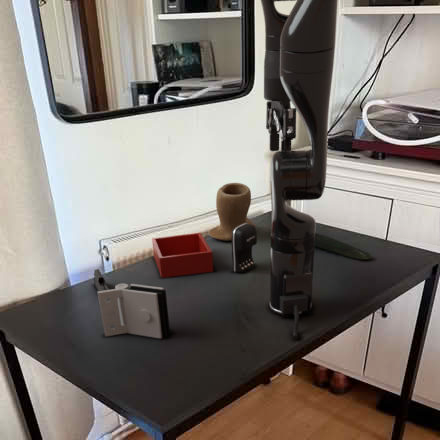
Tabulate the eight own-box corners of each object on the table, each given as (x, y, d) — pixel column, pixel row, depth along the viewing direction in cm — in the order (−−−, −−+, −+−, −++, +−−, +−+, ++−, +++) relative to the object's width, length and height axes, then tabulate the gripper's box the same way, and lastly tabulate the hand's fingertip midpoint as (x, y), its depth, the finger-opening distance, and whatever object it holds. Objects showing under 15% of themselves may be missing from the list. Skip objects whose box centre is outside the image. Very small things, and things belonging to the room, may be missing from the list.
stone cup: (232, 247, 161) (231, 193, 152) (203, 238, 168) (200, 186, 159) (266, 233, 169) (267, 181, 161) (237, 225, 176) (236, 175, 168)
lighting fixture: (122, 313, 129) (119, 296, 126) (110, 315, 128) (108, 298, 125) (105, 283, 143) (102, 267, 141) (94, 285, 142) (92, 269, 140)
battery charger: (243, 275, 144) (242, 231, 137) (231, 272, 146) (230, 228, 139) (258, 266, 148) (258, 223, 142) (247, 263, 150) (246, 220, 144)
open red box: (213, 271, 146) (212, 251, 144) (161, 277, 144) (159, 258, 141) (201, 251, 159) (200, 232, 156) (153, 256, 157) (151, 238, 154)
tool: (275, 244, 161) (275, 221, 158) (289, 237, 165) (289, 215, 161) (359, 266, 145) (361, 241, 142) (372, 259, 149) (375, 234, 145)
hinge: (103, 336, 119) (96, 292, 114) (111, 325, 124) (104, 282, 118) (167, 339, 117) (162, 294, 112) (173, 327, 122) (168, 283, 116)
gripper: (255, 72, 126) (255, 150, 135) (274, 78, 114) (273, 162, 123) (287, 70, 127) (285, 147, 136) (309, 76, 116) (306, 159, 125)
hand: (279, 154), depth 130 cm, fingers open, 8 cm apart
